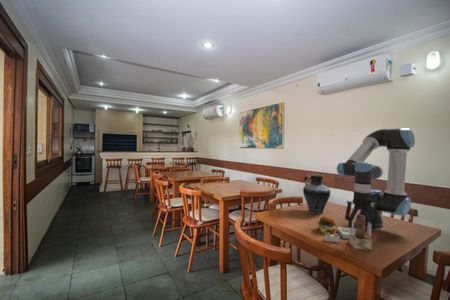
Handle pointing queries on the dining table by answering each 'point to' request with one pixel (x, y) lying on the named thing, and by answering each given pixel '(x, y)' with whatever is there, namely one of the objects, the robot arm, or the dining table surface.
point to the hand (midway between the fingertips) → (360, 234)
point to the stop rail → (332, 237)
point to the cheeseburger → (326, 225)
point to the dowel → (360, 226)
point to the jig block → (360, 242)
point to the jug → (316, 193)
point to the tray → (345, 232)
